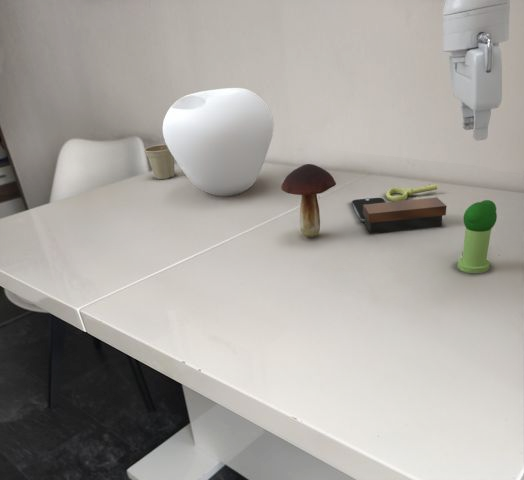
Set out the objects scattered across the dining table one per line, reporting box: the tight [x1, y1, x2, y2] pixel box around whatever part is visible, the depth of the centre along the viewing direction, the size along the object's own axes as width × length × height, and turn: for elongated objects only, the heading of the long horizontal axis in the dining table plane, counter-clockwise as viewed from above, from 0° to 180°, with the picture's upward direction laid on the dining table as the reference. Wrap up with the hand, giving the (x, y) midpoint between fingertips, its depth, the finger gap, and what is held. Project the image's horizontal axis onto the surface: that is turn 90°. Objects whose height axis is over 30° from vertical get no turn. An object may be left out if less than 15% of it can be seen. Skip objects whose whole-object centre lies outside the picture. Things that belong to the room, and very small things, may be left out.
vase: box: [162, 87, 274, 197], centre depth 141 cm, size 28×27×25 cm
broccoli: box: [457, 199, 498, 274], centre depth 92 cm, size 6×5×12 cm
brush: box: [363, 196, 448, 234], centre depth 114 cm, size 16×6×4 cm, turn 93°
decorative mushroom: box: [280, 163, 337, 239], centre depth 110 cm, size 11×11×15 cm
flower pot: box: [143, 143, 176, 180], centre depth 164 cm, size 9×9×9 cm
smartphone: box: [351, 197, 386, 224], centre depth 124 cm, size 8×1×15 cm
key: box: [385, 183, 438, 202], centre depth 131 cm, size 7×12×2 cm, turn 110°
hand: (474, 133), depth 84 cm, fingers open, 8 cm apart
